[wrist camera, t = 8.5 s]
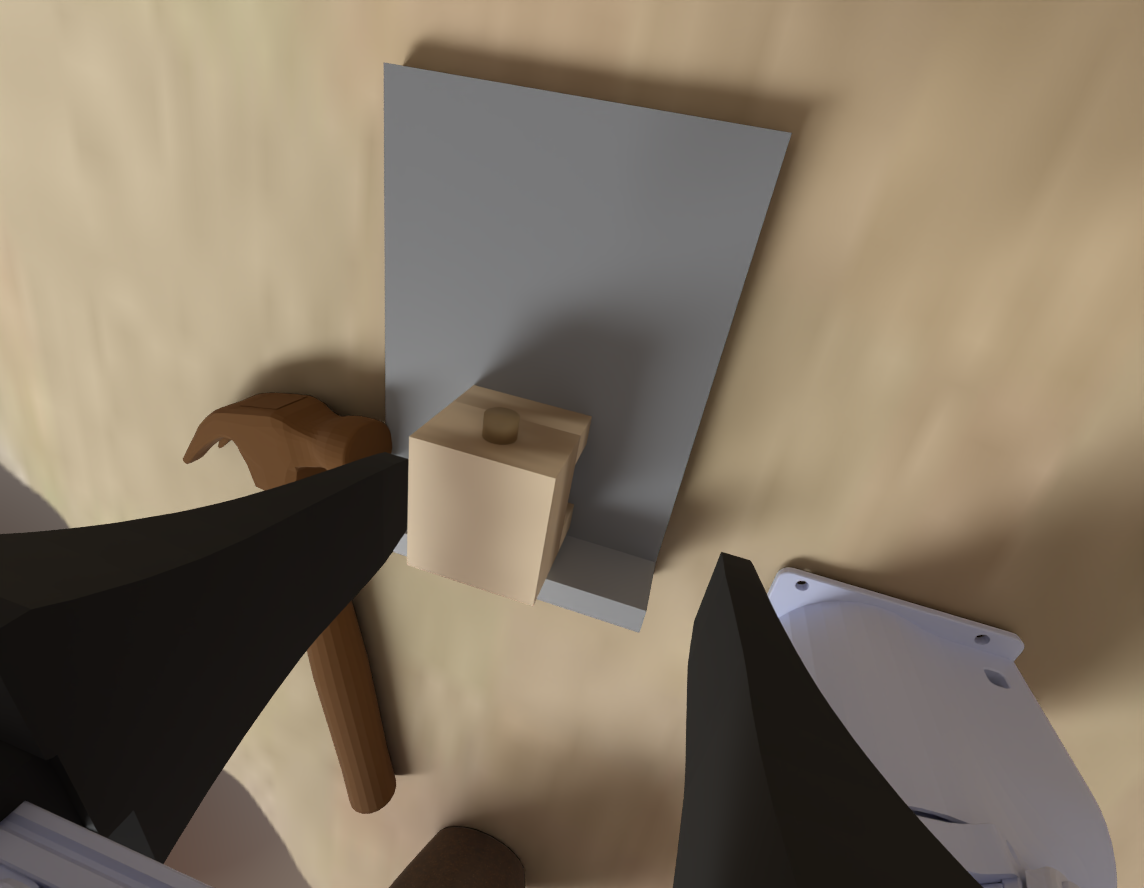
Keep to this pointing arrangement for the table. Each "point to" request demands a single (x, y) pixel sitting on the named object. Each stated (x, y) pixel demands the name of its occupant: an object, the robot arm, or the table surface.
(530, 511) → the cabinet block
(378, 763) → the hammer
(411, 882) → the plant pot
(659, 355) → the wall board
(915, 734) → the robot arm
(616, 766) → the table surface
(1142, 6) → the table surface
